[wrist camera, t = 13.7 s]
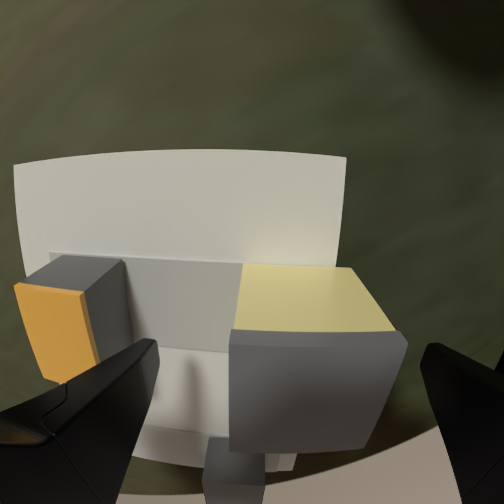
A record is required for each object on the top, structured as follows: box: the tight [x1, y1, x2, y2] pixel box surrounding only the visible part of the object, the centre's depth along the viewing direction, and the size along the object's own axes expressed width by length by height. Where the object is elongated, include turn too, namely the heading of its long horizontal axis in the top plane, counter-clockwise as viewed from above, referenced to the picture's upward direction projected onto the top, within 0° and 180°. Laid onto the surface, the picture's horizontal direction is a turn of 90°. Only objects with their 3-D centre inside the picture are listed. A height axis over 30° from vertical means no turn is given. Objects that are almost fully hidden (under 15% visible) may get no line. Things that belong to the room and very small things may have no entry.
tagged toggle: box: [14, 255, 134, 384], centre depth 10 cm, size 3×4×3 cm
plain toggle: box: [202, 438, 265, 504], centre depth 13 cm, size 3×4×3 cm
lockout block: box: [229, 263, 408, 454], centre depth 9 cm, size 4×4×5 cm
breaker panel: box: [14, 149, 346, 472], centre depth 13 cm, size 14×18×2 cm
